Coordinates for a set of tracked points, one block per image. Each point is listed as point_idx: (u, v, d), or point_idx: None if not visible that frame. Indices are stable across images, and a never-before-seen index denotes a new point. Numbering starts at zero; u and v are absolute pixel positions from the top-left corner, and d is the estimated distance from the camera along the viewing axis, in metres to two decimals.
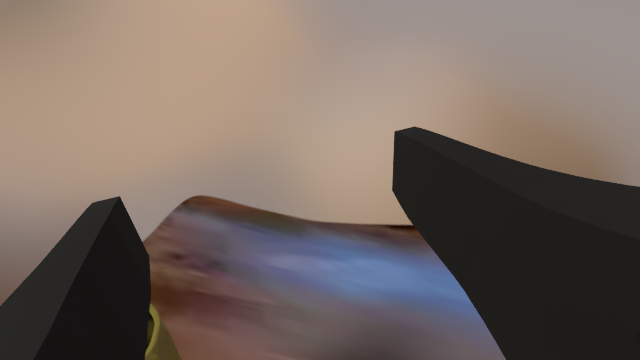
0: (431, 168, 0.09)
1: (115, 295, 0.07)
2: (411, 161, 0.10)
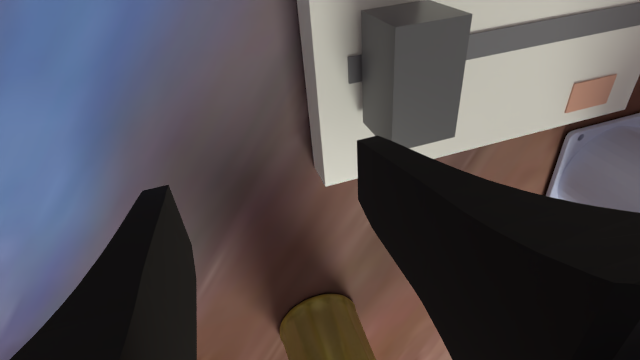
0: (389, 179, 0.09)
1: (173, 278, 0.08)
2: (372, 171, 0.10)
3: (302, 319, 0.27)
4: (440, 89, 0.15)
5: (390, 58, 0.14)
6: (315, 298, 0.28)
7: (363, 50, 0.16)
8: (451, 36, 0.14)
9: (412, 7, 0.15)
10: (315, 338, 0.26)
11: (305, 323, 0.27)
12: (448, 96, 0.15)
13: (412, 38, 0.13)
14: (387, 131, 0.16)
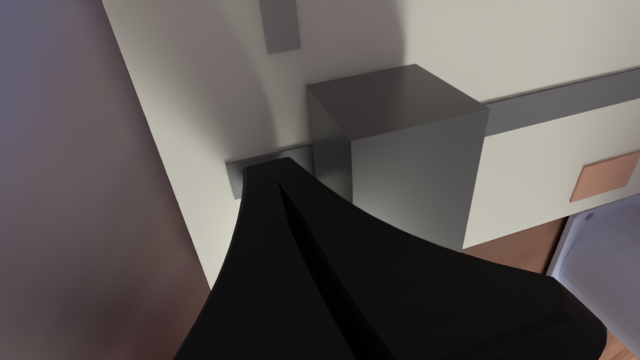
0: (285, 206, 0.08)
1: None
2: None
3: None
4: (434, 218, 0.09)
5: (347, 181, 0.08)
6: None
7: (313, 143, 0.10)
8: (453, 145, 0.08)
9: (388, 82, 0.09)
10: None
11: None
12: (446, 226, 0.09)
13: (383, 154, 0.08)
14: None
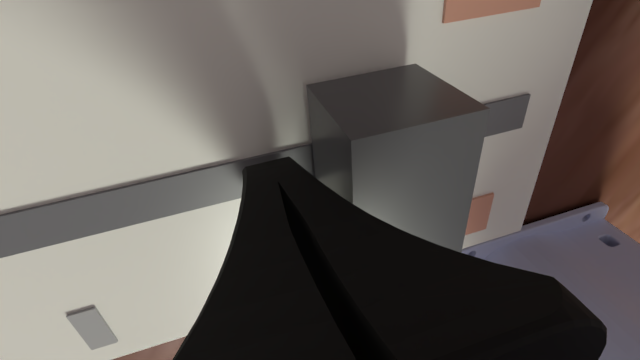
0: (285, 206, 0.08)
1: None
2: None
3: None
4: (434, 218, 0.09)
5: (347, 181, 0.08)
6: None
7: (314, 143, 0.10)
8: (452, 144, 0.08)
9: (388, 82, 0.09)
10: None
11: None
12: (446, 226, 0.09)
13: (383, 153, 0.08)
14: None
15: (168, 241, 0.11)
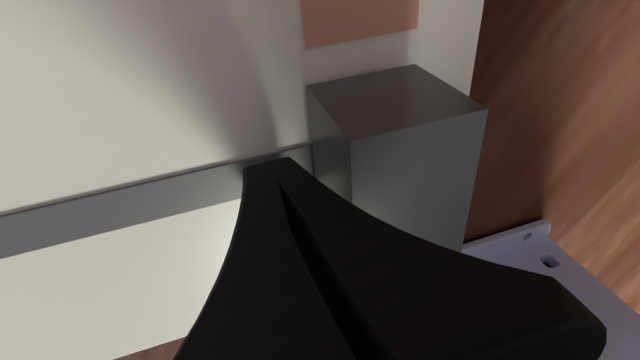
0: (285, 207, 0.08)
1: None
2: None
3: None
4: (434, 218, 0.09)
5: (347, 181, 0.08)
6: None
7: (313, 143, 0.10)
8: (452, 144, 0.08)
9: (388, 83, 0.09)
10: None
11: None
12: (446, 226, 0.09)
13: (383, 154, 0.08)
14: None
15: (27, 279, 0.11)
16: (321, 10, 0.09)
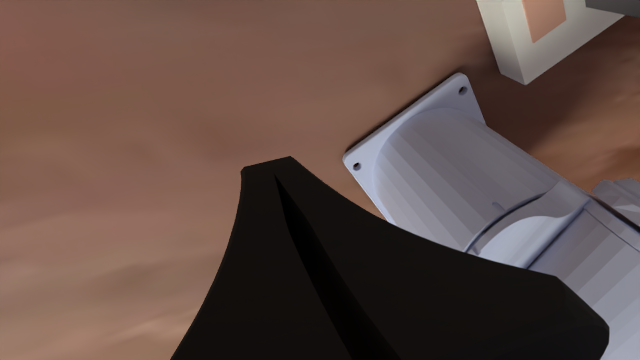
0: (287, 206, 0.08)
1: None
2: None
3: None
4: None
5: None
6: None
7: None
8: None
9: None
10: None
11: None
12: None
13: None
14: None
15: None
16: None
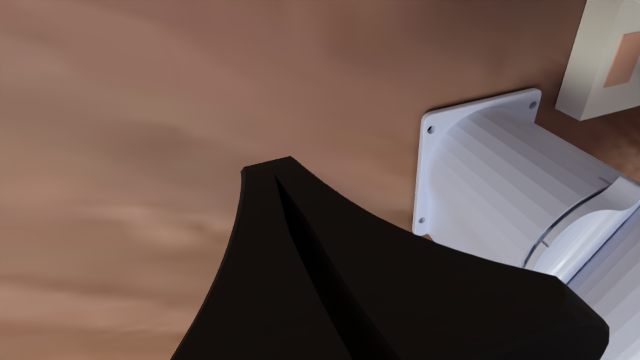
0: (287, 206, 0.08)
1: None
2: None
3: None
4: None
5: None
6: None
7: None
8: None
9: None
10: None
11: None
12: None
13: None
14: None
15: None
16: None
